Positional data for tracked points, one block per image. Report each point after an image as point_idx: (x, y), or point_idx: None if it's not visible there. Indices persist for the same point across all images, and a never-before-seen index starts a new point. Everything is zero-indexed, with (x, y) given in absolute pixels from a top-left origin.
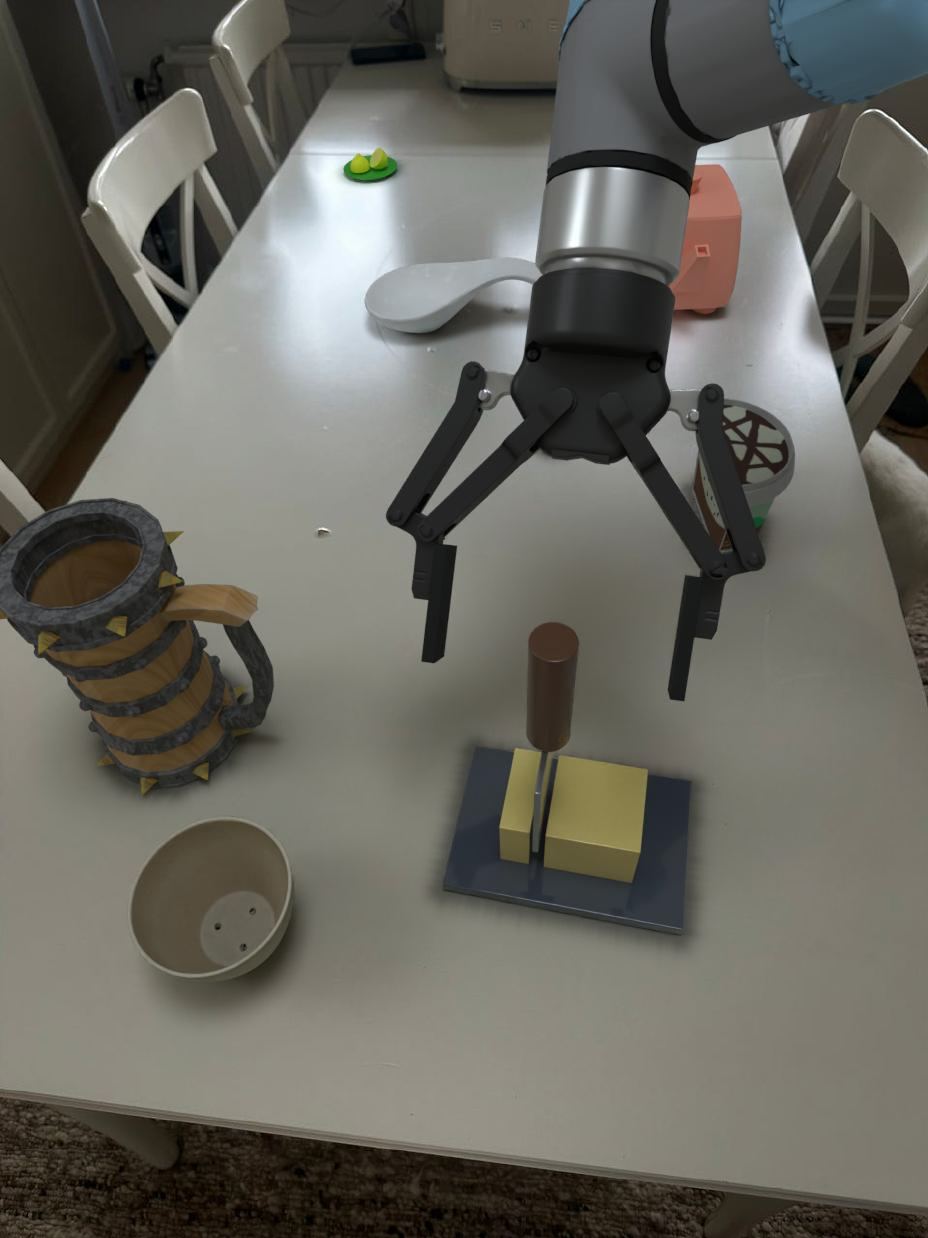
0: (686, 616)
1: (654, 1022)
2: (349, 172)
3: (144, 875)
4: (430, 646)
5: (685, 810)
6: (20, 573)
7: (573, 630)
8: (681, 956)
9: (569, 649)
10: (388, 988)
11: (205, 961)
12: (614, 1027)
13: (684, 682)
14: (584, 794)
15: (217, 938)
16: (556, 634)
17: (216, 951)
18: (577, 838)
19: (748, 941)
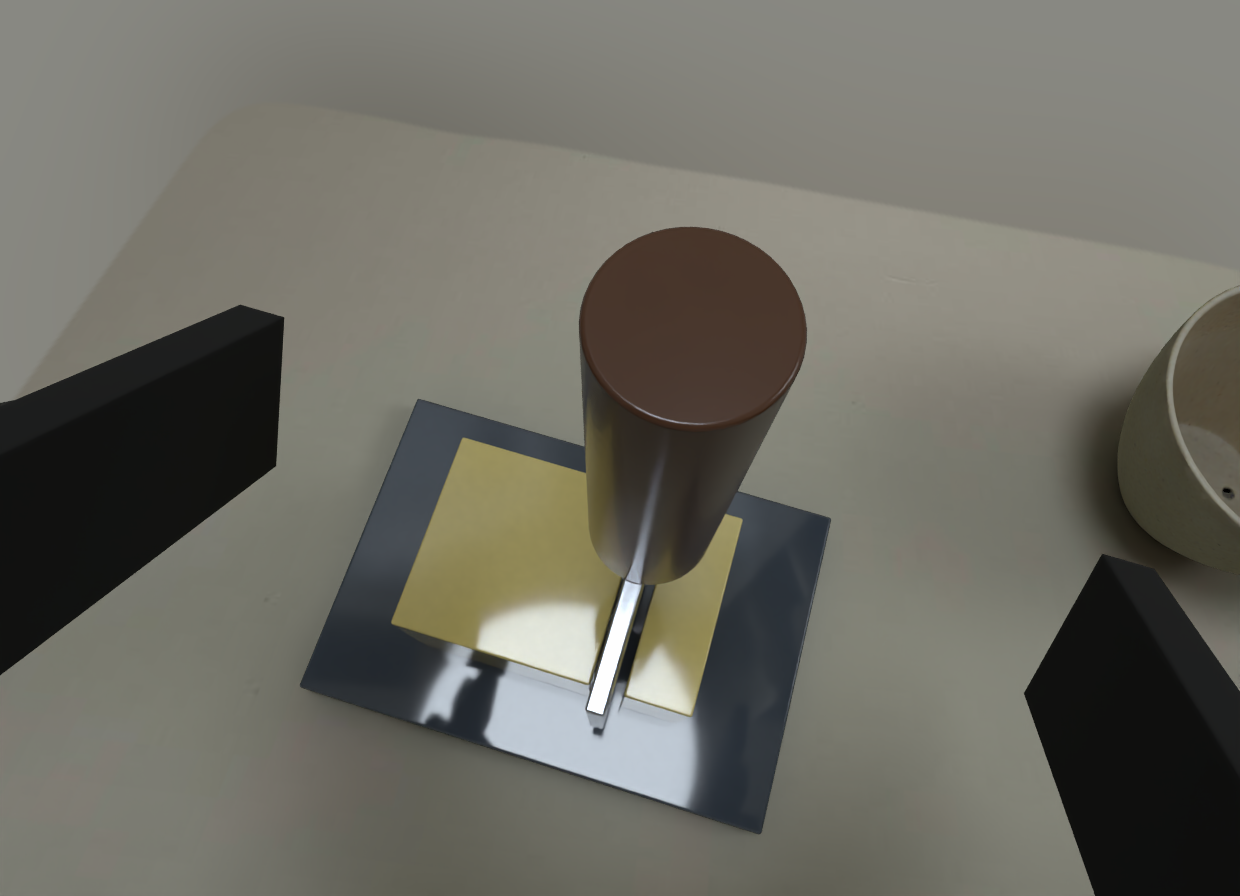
0: (50, 416)
1: (502, 294)
2: None
3: None
4: (1146, 595)
5: (335, 619)
6: None
7: (594, 373)
8: (431, 378)
9: (630, 275)
10: (911, 377)
11: (1234, 427)
12: (563, 293)
13: (209, 325)
14: (548, 575)
15: (1221, 473)
16: (676, 353)
17: (1216, 451)
18: (582, 477)
19: (314, 389)
